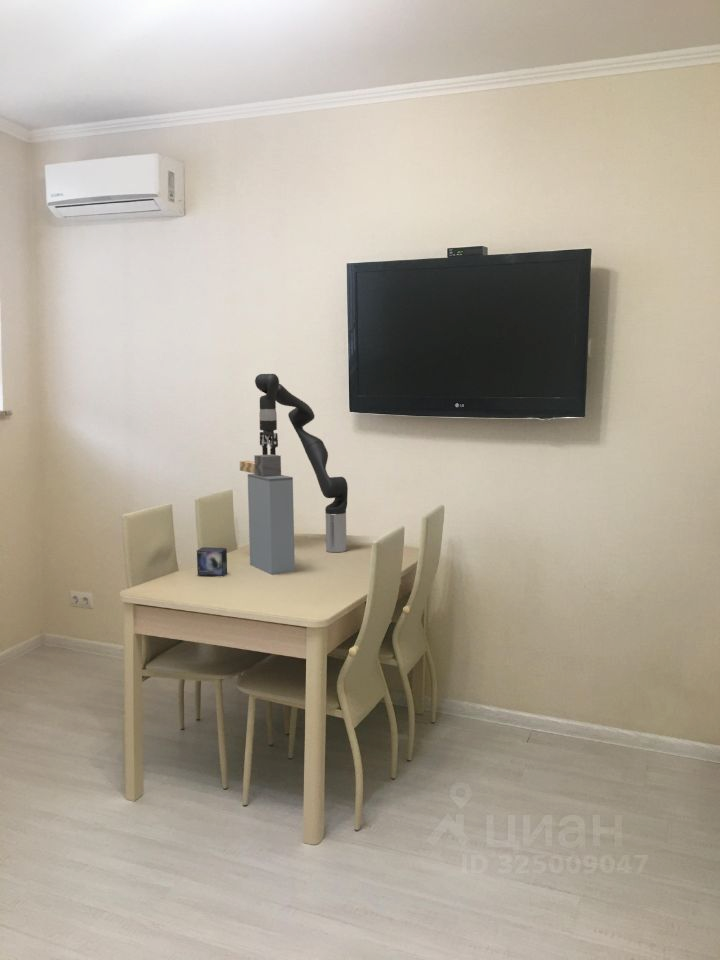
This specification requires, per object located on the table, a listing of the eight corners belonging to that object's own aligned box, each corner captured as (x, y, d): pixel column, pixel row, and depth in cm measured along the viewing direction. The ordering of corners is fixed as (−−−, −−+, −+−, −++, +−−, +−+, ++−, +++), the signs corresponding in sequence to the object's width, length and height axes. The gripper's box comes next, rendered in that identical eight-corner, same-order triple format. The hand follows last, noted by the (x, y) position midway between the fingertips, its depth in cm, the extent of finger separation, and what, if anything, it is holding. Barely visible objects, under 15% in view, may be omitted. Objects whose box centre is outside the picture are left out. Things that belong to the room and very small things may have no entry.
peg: (235, 470, 349) (234, 452, 349) (252, 469, 354) (252, 451, 353) (262, 476, 325) (262, 456, 324) (281, 475, 329) (280, 455, 328)
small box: (196, 576, 320) (195, 550, 319) (202, 572, 327) (201, 546, 325) (222, 577, 318) (221, 550, 317) (228, 573, 325) (227, 547, 323)
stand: (250, 564, 340) (247, 474, 335) (272, 561, 345) (269, 472, 340) (271, 574, 321) (269, 479, 317) (294, 571, 326) (292, 477, 322)
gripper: (253, 419, 363) (254, 455, 365) (266, 420, 351) (267, 457, 353) (269, 418, 367) (270, 454, 369) (282, 419, 355) (283, 456, 357)
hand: (269, 456), depth 361 cm, fingers open, 8 cm apart
